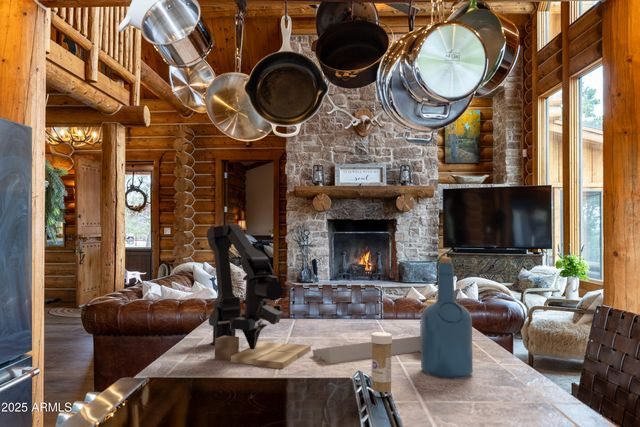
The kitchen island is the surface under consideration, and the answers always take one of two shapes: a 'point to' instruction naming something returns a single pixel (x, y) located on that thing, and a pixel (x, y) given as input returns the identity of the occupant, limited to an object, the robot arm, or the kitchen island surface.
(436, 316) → the wine bottle
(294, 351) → the laid row
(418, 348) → the decorative molding
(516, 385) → the kitchen island surface
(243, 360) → the plank
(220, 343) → the block
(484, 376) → the kitchen island surface
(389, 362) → the sprinkles bottle
